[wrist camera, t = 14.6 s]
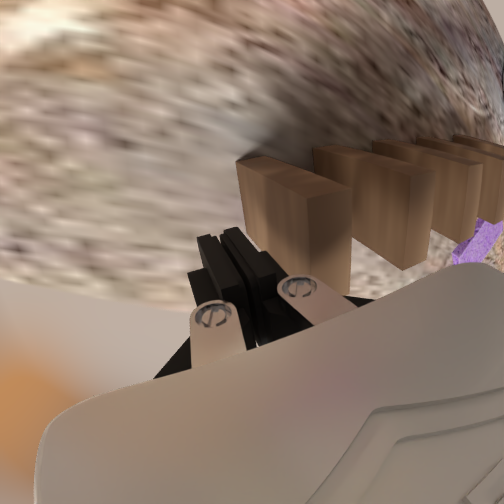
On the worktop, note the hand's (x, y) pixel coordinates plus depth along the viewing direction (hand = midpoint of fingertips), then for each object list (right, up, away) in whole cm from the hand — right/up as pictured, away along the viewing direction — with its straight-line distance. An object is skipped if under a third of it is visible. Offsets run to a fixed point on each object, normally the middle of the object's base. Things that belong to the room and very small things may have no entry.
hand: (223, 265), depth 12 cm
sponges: (+32, +3, +21) cm, 38 cm away
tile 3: (+12, +7, +10) cm, 17 cm away
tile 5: (+1, +4, +7) cm, 9 cm away
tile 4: (+7, +6, +9) cm, 12 cm away
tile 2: (+17, +9, +11) cm, 22 cm away
